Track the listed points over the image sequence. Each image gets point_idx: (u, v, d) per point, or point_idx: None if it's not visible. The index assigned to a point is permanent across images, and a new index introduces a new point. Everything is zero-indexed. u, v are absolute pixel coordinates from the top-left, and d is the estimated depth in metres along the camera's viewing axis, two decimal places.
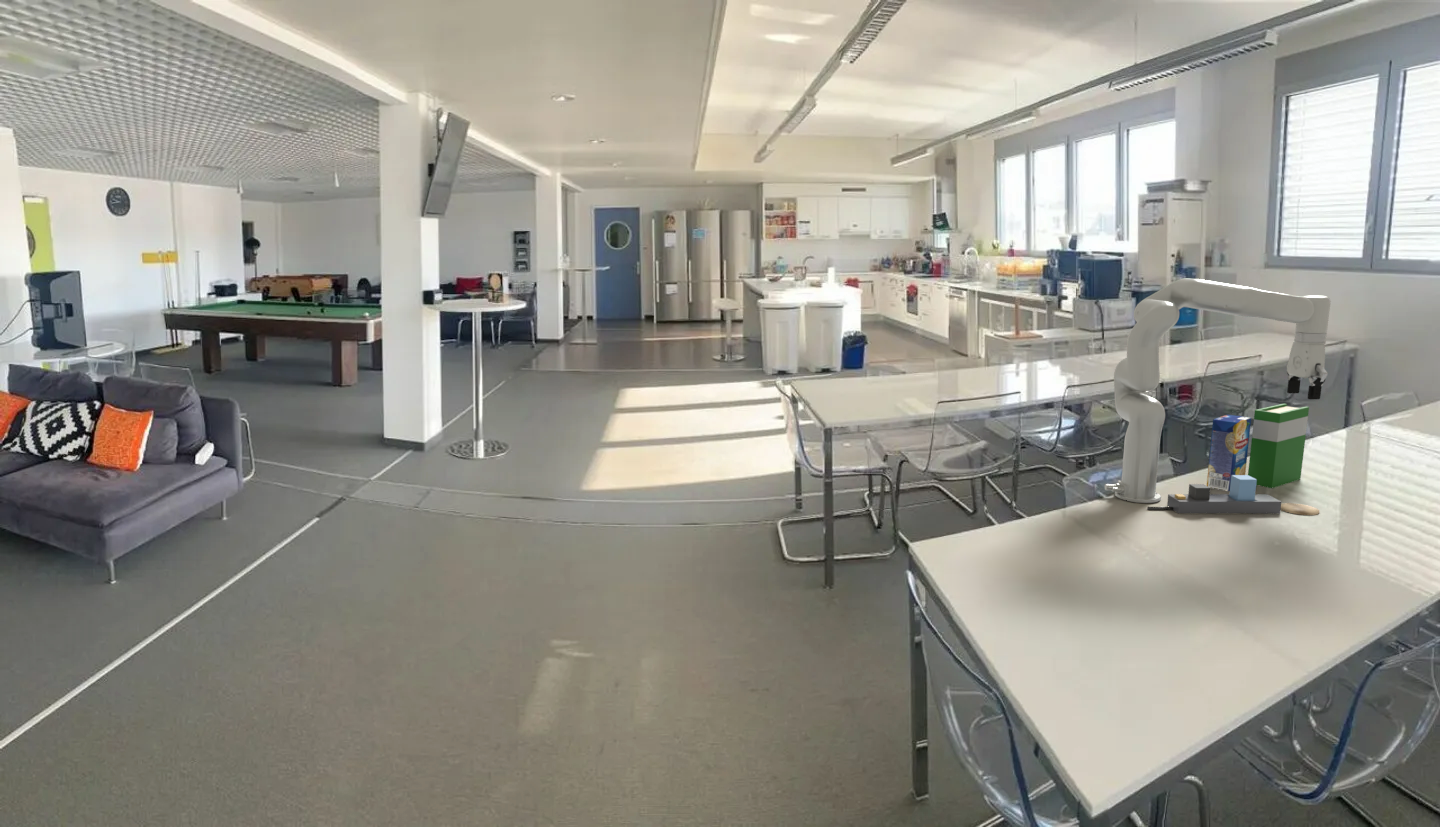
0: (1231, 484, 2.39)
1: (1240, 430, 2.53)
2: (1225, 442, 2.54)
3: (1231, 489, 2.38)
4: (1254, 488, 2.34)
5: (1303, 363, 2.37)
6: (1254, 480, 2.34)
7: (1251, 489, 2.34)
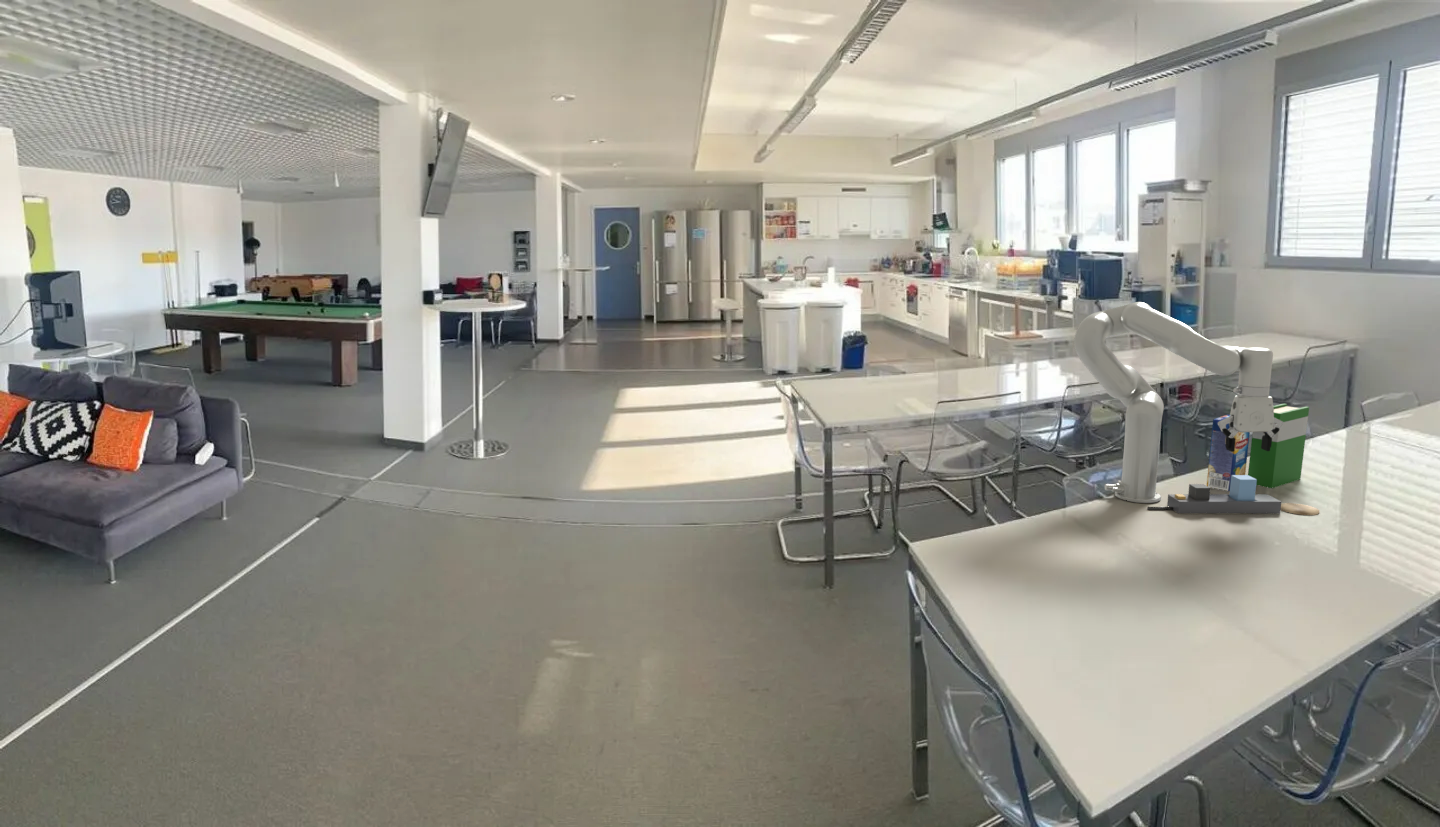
0: (1231, 484, 2.39)
1: None
2: (1225, 442, 2.54)
3: (1231, 489, 2.38)
4: (1254, 488, 2.34)
5: (1267, 417, 2.30)
6: (1254, 480, 2.34)
7: (1251, 489, 2.34)
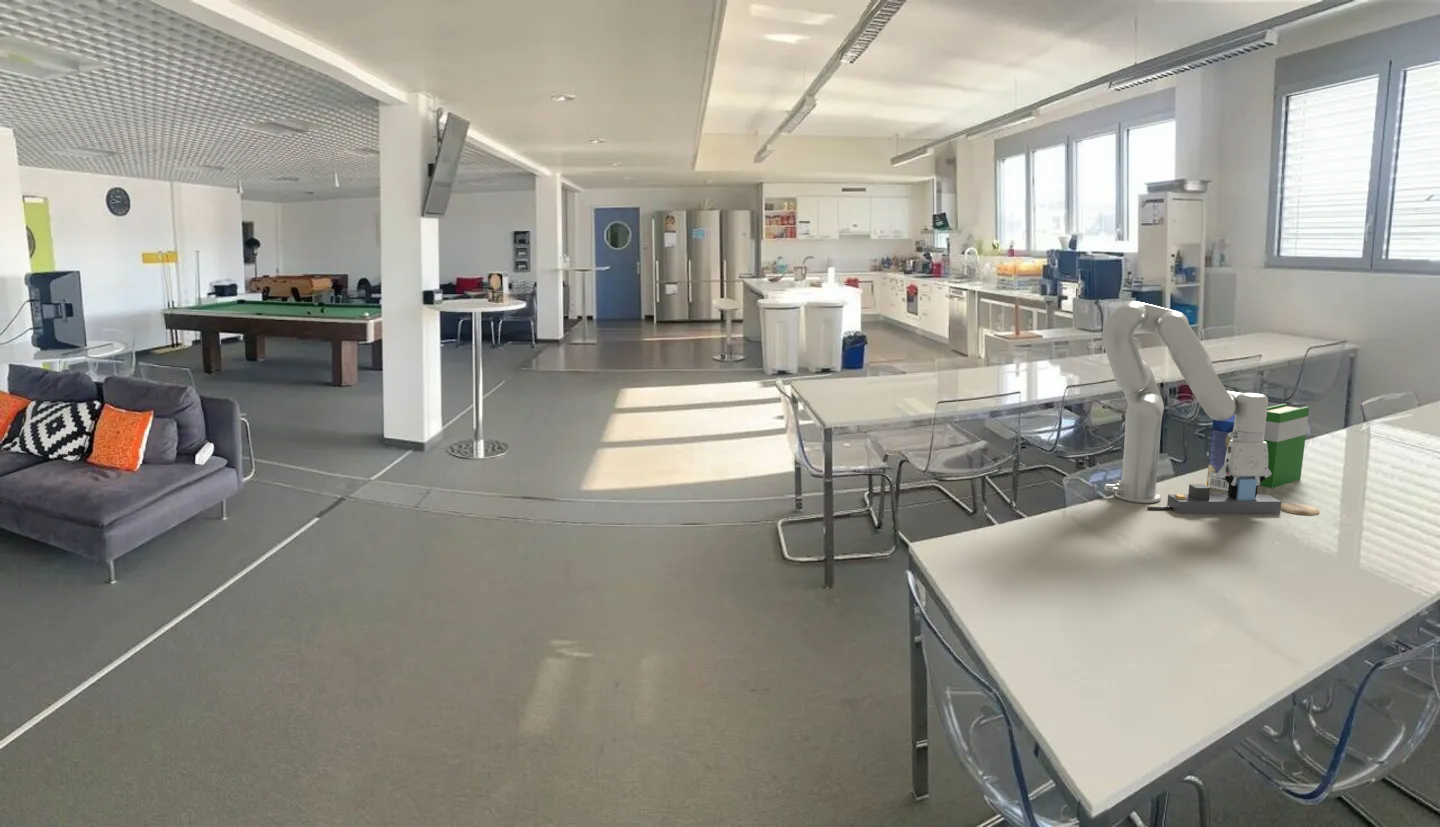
0: None
1: None
2: (1225, 442, 2.54)
3: None
4: (1254, 488, 2.34)
5: (1261, 462, 2.32)
6: (1254, 480, 2.34)
7: (1251, 489, 2.34)
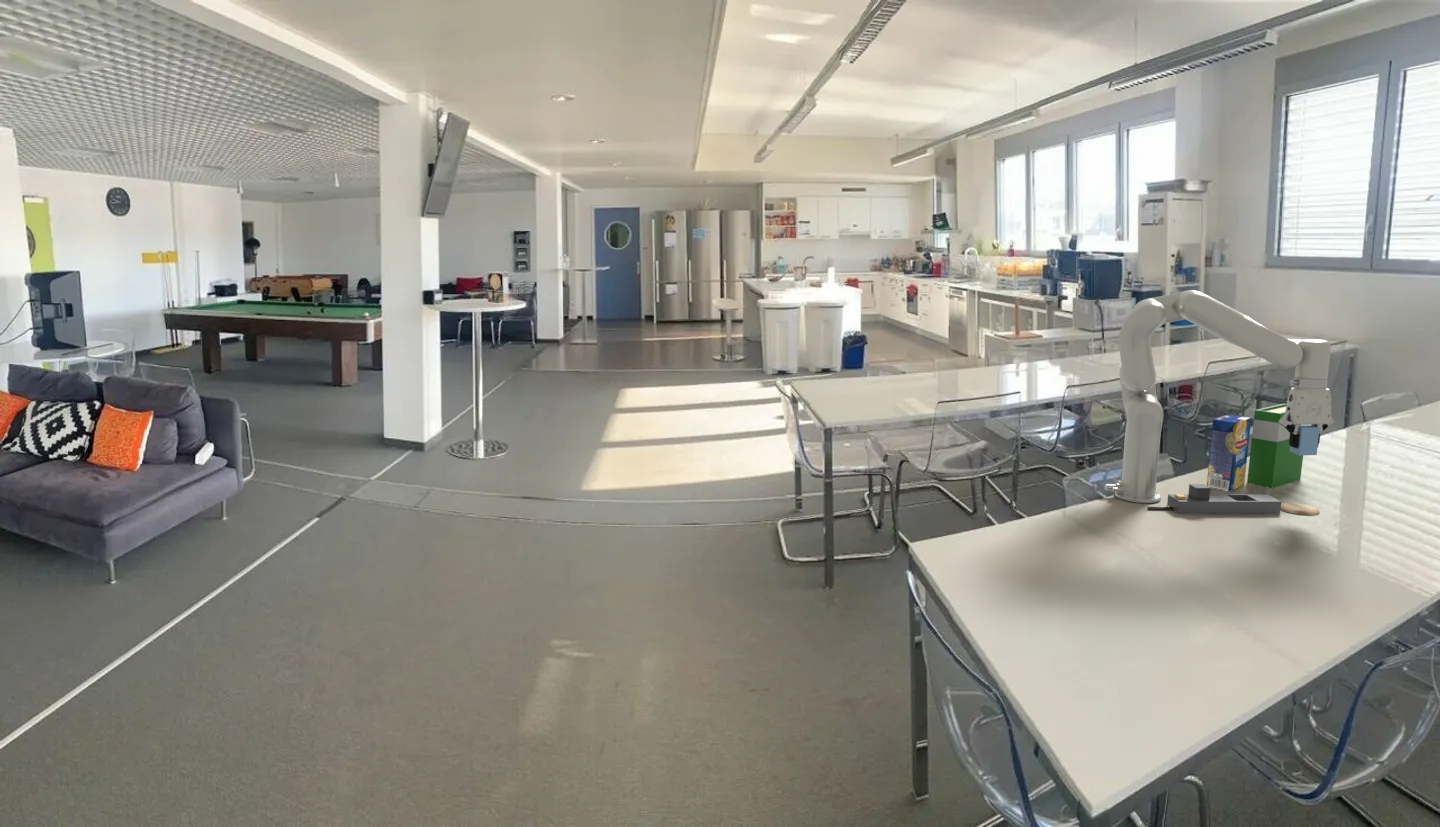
0: None
1: (1240, 430, 2.53)
2: (1225, 442, 2.54)
3: None
4: (1317, 436, 2.30)
5: (1324, 409, 2.28)
6: (1317, 428, 2.30)
7: (1314, 437, 2.30)
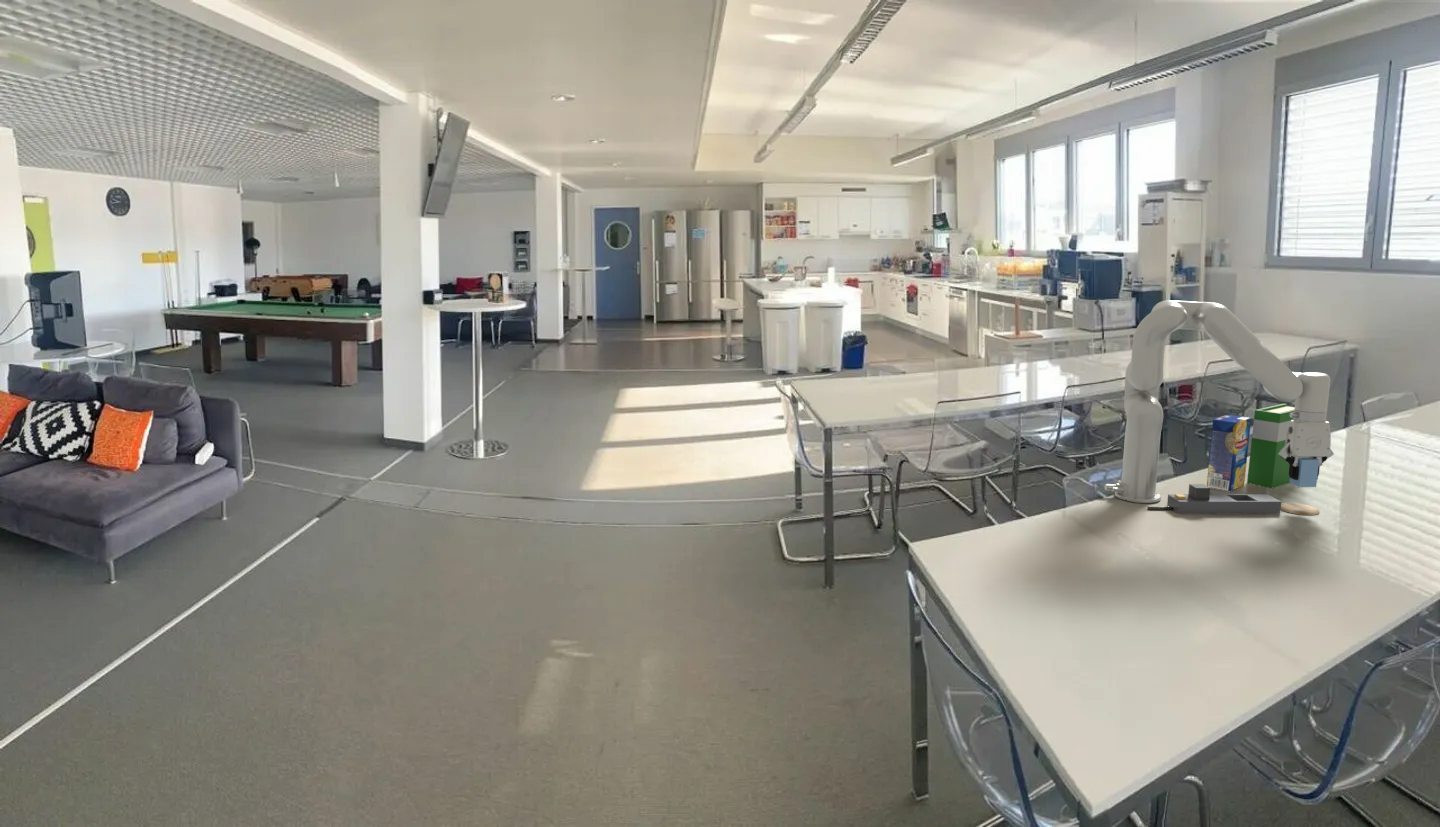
0: None
1: (1240, 430, 2.53)
2: (1225, 442, 2.54)
3: None
4: (1316, 468, 2.32)
5: (1324, 442, 2.30)
6: (1316, 460, 2.31)
7: (1313, 469, 2.32)
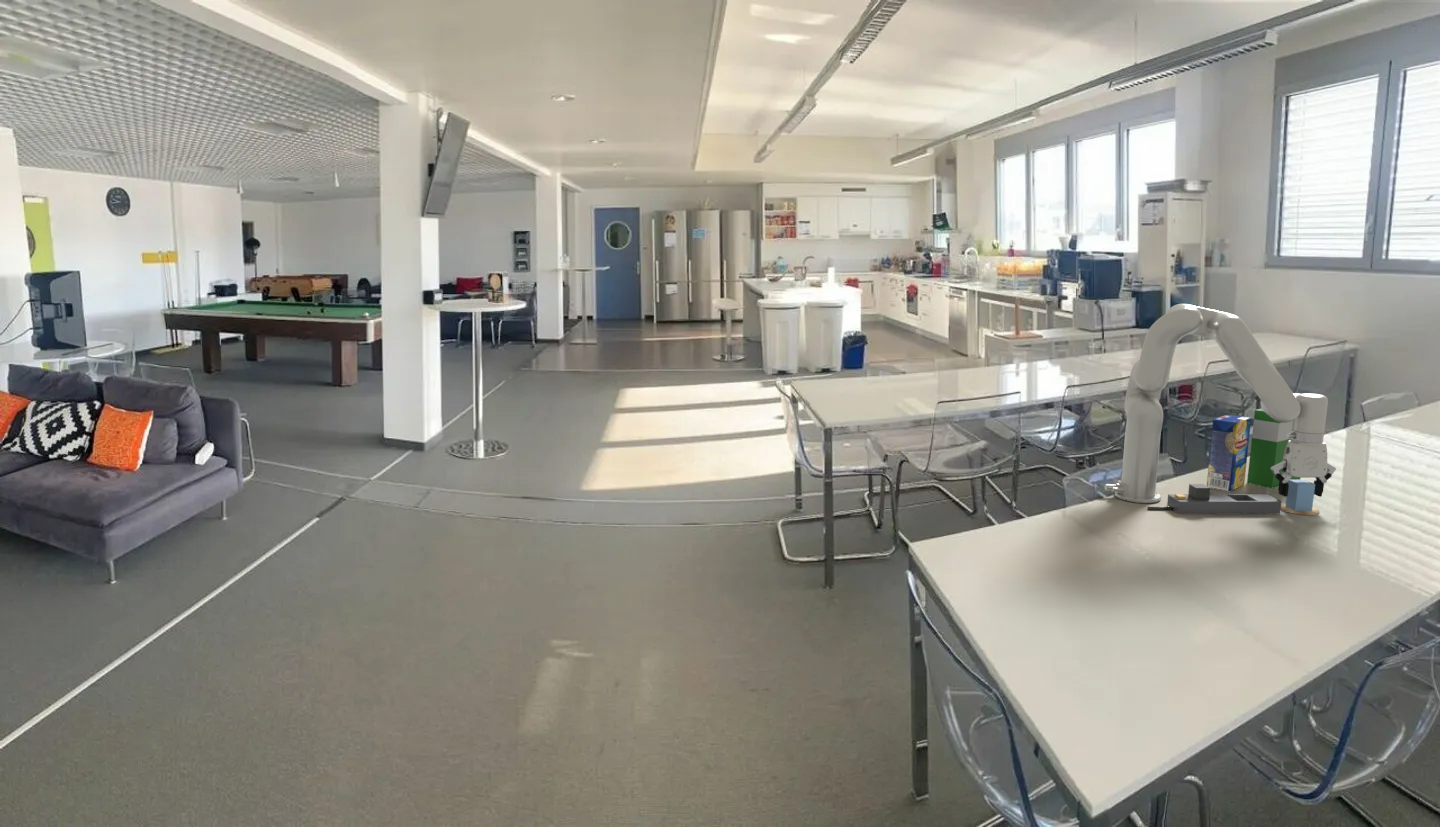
0: (1288, 488, 2.38)
1: (1240, 430, 2.53)
2: (1225, 442, 2.54)
3: (1289, 494, 2.38)
4: (1312, 493, 2.33)
5: (1320, 463, 2.31)
6: (1312, 485, 2.33)
7: (1309, 494, 2.34)
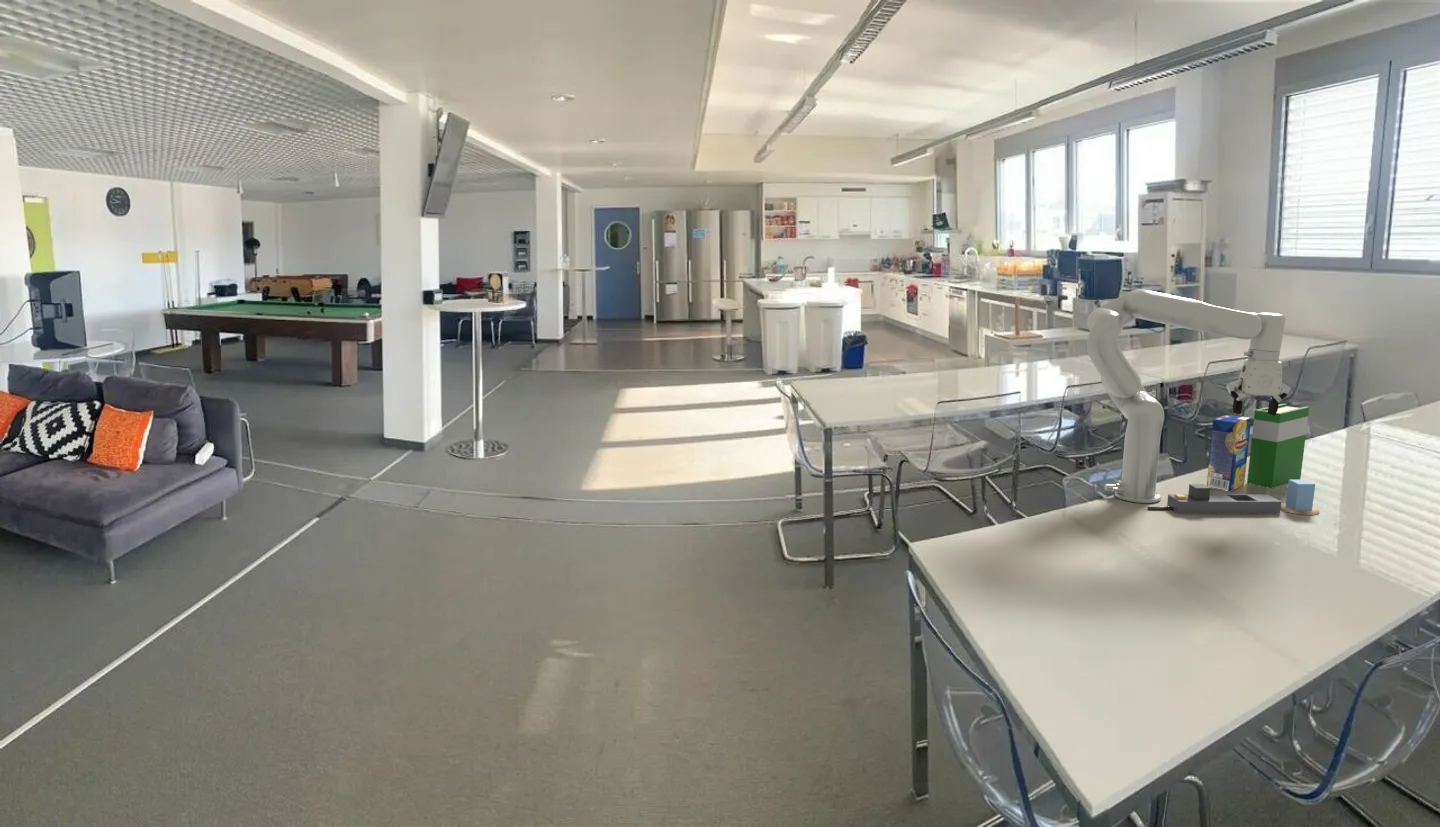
0: (1288, 488, 2.38)
1: (1240, 430, 2.53)
2: (1225, 442, 2.54)
3: (1289, 494, 2.38)
4: (1312, 493, 2.33)
5: (1275, 381, 2.35)
6: (1312, 485, 2.33)
7: (1309, 494, 2.34)
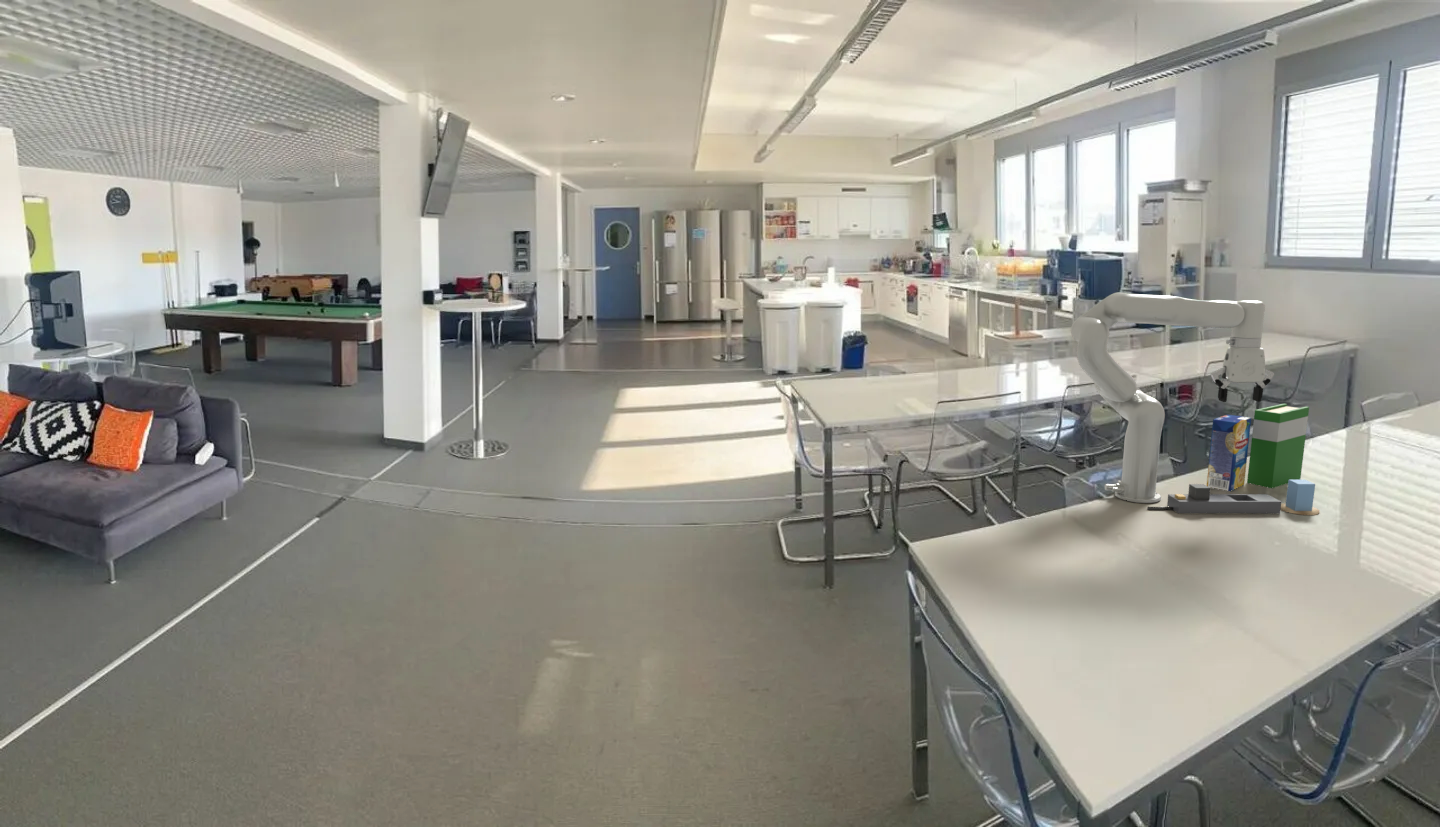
0: (1288, 488, 2.38)
1: (1240, 430, 2.53)
2: (1225, 442, 2.54)
3: (1289, 494, 2.38)
4: (1312, 493, 2.33)
5: (1258, 368, 2.37)
6: (1312, 485, 2.33)
7: (1309, 494, 2.34)
